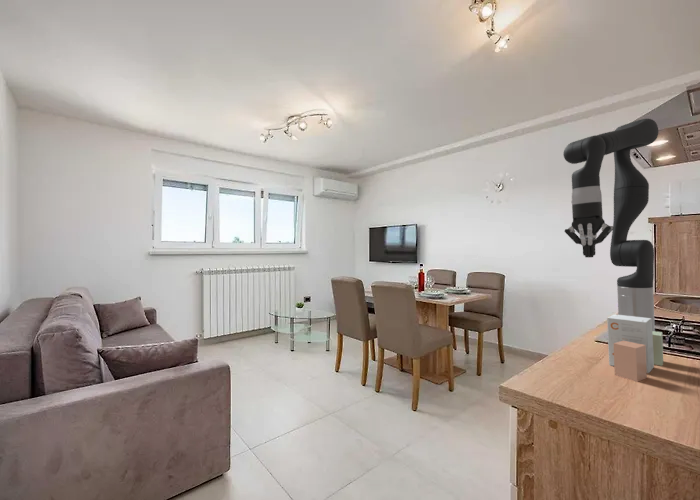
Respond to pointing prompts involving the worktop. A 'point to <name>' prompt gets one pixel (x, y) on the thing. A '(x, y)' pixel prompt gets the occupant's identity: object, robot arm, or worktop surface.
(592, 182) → the robot arm
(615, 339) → the small box
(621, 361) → the terracotta block
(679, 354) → the worktop surface
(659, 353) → the sage block
